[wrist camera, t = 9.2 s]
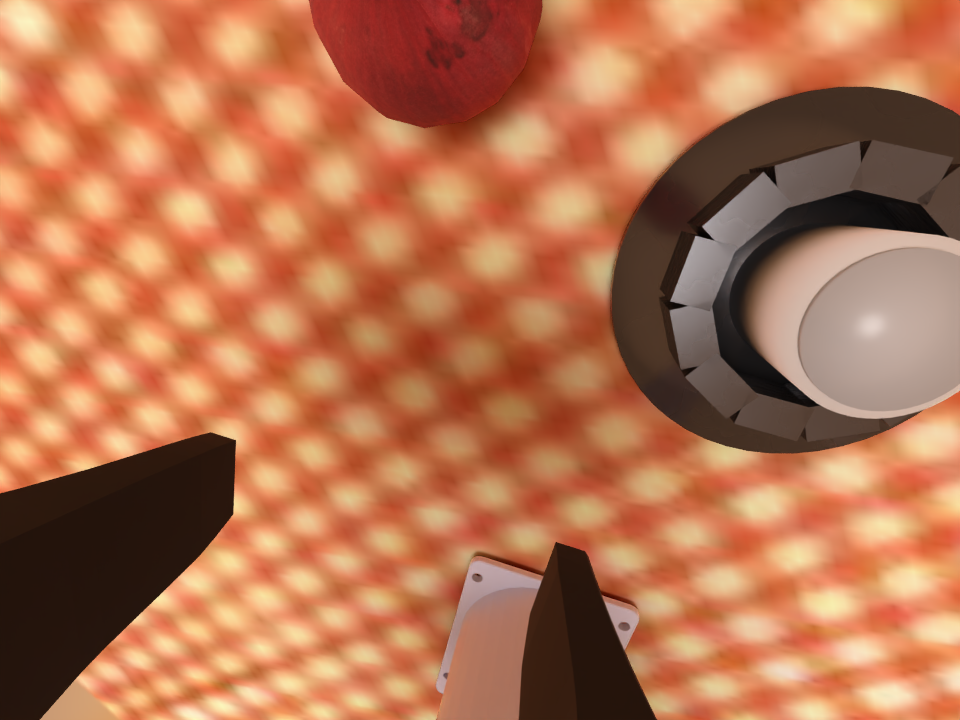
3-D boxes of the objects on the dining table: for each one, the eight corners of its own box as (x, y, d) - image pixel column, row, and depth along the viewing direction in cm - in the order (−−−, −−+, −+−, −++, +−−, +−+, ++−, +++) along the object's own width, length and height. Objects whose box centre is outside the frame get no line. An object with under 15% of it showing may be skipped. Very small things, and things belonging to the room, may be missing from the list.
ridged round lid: (881, 484, 18) (930, 529, 15) (570, 394, 19) (569, 424, 16) (1106, 140, 13) (1224, 129, 11) (683, 52, 14) (704, 24, 12)
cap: (836, 378, 16) (934, 446, 12) (705, 336, 16) (753, 387, 12) (918, 247, 14) (1067, 270, 10) (770, 204, 15) (852, 208, 10)
